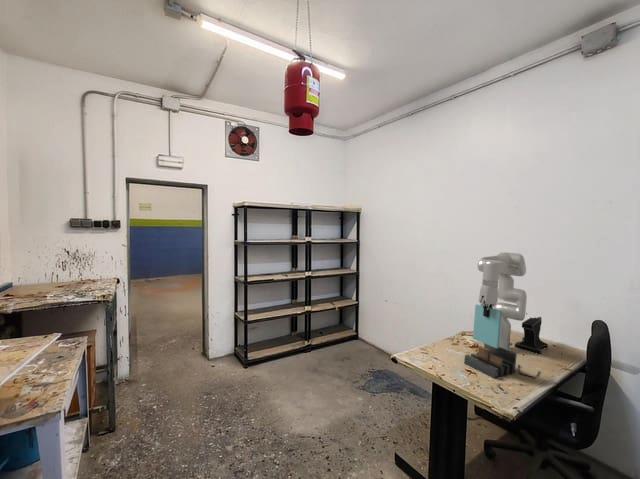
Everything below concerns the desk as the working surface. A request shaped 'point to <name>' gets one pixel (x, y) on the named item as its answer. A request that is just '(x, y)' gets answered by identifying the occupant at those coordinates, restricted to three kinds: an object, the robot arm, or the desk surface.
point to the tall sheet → (487, 326)
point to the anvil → (531, 336)
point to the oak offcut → (496, 360)
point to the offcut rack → (491, 367)
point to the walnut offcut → (484, 353)
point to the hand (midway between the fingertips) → (487, 316)
